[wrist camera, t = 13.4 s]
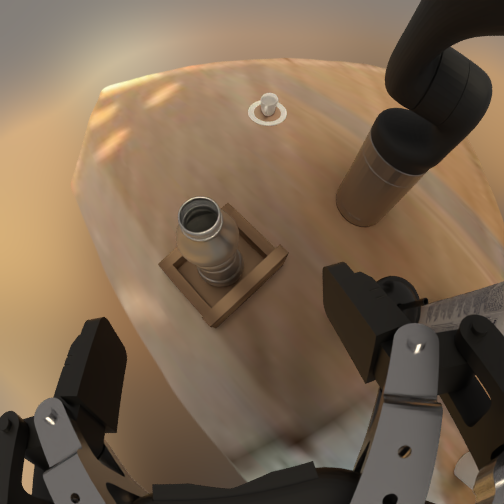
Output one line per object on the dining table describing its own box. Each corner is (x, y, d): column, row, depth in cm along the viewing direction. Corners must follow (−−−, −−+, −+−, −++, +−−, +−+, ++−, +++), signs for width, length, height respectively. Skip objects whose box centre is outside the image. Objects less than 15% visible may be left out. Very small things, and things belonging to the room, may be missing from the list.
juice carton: (395, 354, 39) (525, 356, 13) (418, 299, 42) (540, 255, 16) (430, 373, 38) (552, 381, 12) (450, 320, 41) (567, 293, 15)
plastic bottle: (243, 290, 42) (236, 253, 23) (198, 288, 42) (155, 249, 23) (245, 249, 44) (241, 182, 24) (201, 247, 44) (167, 181, 24)
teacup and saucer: (265, 95, 55) (265, 81, 51) (295, 110, 54) (298, 96, 50) (240, 116, 53) (239, 102, 49) (272, 133, 51) (273, 119, 48)
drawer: (229, 212, 46) (226, 193, 40) (283, 264, 44) (288, 252, 37) (164, 269, 43) (151, 258, 37) (216, 327, 41) (210, 326, 34)
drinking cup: (322, 308, 42) (378, 284, 22) (362, 285, 43) (432, 248, 23) (343, 350, 40) (412, 358, 20) (382, 326, 41) (463, 314, 21)
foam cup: (445, 488, 30) (479, 508, 17) (451, 456, 32) (490, 473, 20) (475, 470, 30) (510, 484, 17) (481, 438, 32) (520, 449, 20)
